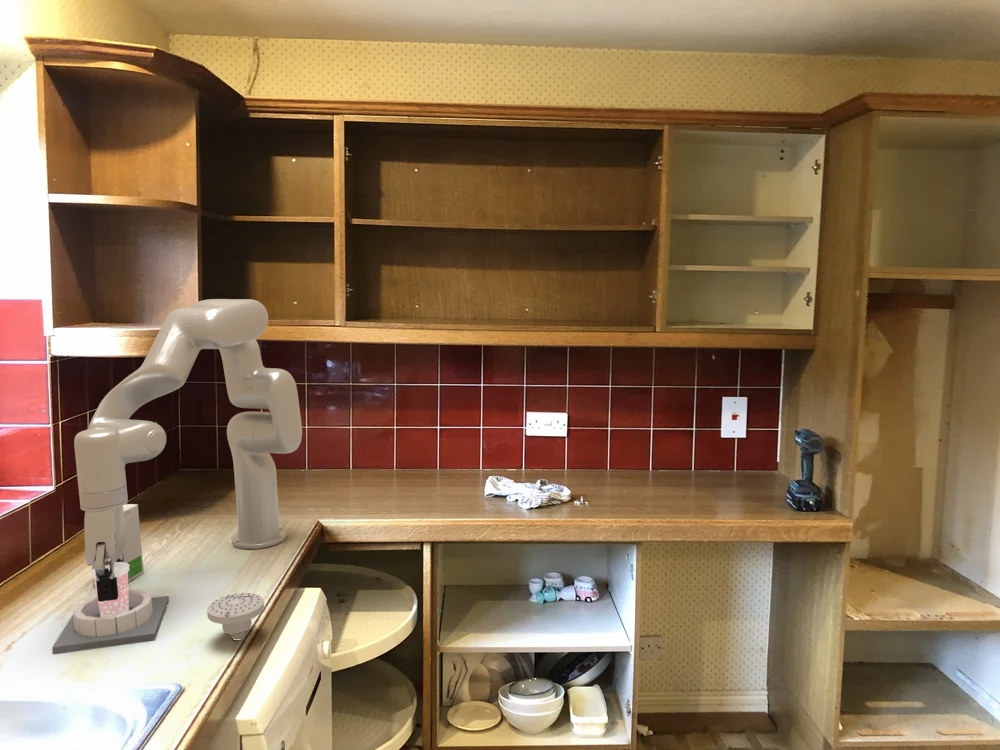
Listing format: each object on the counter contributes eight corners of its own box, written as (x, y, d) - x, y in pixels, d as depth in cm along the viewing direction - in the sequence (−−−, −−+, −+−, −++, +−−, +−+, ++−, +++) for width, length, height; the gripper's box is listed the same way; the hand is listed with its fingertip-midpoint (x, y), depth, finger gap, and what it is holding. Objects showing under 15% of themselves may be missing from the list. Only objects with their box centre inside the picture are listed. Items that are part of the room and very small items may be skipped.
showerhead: (196, 613, 122) (217, 588, 132) (199, 654, 123) (220, 625, 133) (253, 612, 123) (269, 586, 132) (255, 652, 124) (272, 624, 133)
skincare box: (118, 588, 150) (112, 516, 148) (90, 586, 151) (83, 514, 149) (145, 572, 158) (139, 503, 156) (118, 570, 159) (112, 502, 157)
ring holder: (78, 612, 139) (76, 592, 139) (169, 601, 144) (167, 581, 143) (52, 654, 124) (50, 630, 123) (155, 639, 128) (153, 617, 128)
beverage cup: (101, 609, 136) (94, 537, 134) (137, 605, 137) (130, 534, 135) (91, 624, 130) (83, 550, 128) (128, 620, 131) (121, 546, 129)
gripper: (92, 485, 138) (101, 576, 140) (66, 514, 121) (76, 616, 124) (136, 482, 140) (144, 571, 142) (116, 509, 123) (125, 609, 126)
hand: (112, 591), depth 133 cm, fingers closed on beverage cup, 6 cm apart
